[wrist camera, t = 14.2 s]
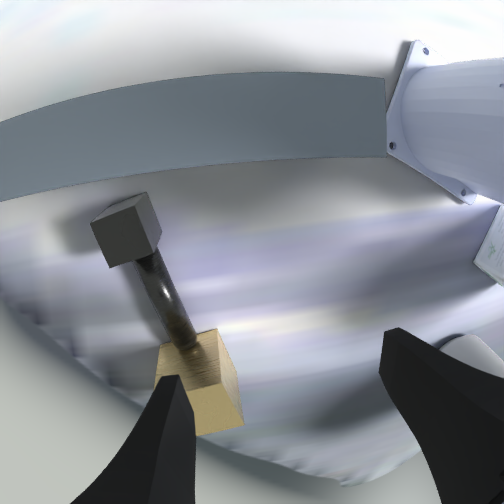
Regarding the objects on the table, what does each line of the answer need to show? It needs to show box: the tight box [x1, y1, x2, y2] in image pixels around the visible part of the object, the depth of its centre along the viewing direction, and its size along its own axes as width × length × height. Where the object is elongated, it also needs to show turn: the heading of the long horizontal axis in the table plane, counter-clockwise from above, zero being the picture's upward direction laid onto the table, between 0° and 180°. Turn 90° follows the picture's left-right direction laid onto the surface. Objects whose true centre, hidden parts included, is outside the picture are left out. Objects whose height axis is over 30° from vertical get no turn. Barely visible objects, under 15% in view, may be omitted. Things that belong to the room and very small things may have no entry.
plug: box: [90, 192, 244, 436], centre depth 17 cm, size 14×4×5 cm, turn 16°
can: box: [439, 334, 504, 378], centre depth 20 cm, size 8×8×12 cm
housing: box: [0, 72, 387, 202], centre depth 12 cm, size 3×17×7 cm, turn 94°
